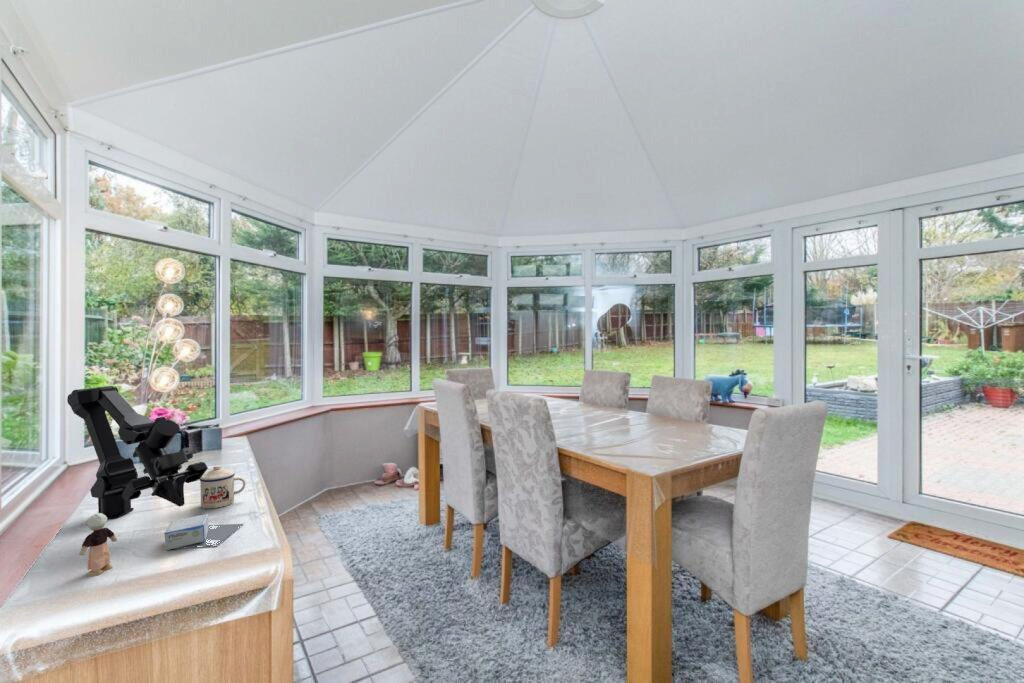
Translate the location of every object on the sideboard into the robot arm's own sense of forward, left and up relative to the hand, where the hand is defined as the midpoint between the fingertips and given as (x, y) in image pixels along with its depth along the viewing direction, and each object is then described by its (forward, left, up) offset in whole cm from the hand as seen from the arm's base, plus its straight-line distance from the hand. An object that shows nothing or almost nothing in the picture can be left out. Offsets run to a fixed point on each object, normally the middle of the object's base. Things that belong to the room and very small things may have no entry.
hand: (182, 505), depth 122 cm
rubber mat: (+10, -5, -6) cm, 13 cm away
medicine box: (+4, -4, -4) cm, 7 cm away
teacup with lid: (0, +19, -7) cm, 20 cm away
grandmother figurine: (-5, -22, -7) cm, 23 cm away
